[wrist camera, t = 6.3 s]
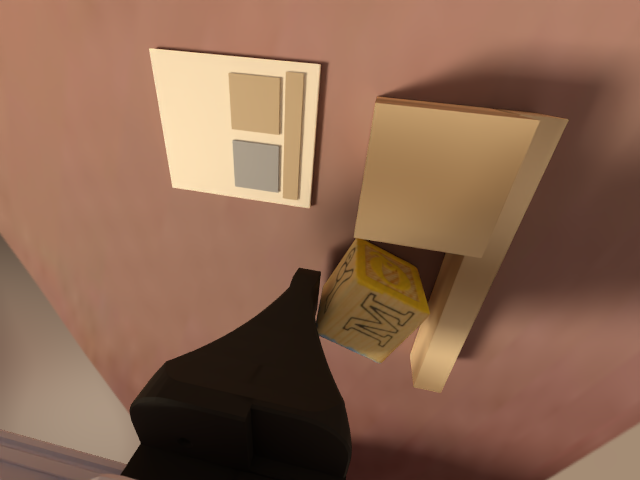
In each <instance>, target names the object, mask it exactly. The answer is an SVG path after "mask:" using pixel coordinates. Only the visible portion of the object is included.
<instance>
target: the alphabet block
mask: <svg viewBox="0 0 640 480" xmlns="http://www.w3.org/2000/svg"><path fill="white" fill-rule="evenodd" d="M429 315H430V311H429V307H428V304H427V300H426V297H425V293H424V290H423V287H422V283H421V280H420V276H419V273H418V269H417V268H416V267H415V266H414V265H412V264H410V263H408V262H406V261H404V260H402V259H400V258H398V257H396V256H395V255H393V254H391V253H389V252H387V251H385V250H383V249H381V248H379V247H378V246H375V245H373V244H371V243H369V242H367V241H365V240H364V239H360V238H356V239H355V240H354V242H353V243H352V245H351V246H350V248H349V249H348V251H347V252H346V254H345V255H344V257H343V258H342V260H341V261H340V263H339V264H338V266H337V267H336V269H335V270H334V271H333V273H332V274H331V276H330V277H329V279H328V280H327V282H326V283H325V284H324V286H323V288H322V294H321V299H320V304H319V309H318V315H317V320H316V326H317V331H318V335H320V336H321V337H323V338H326V339H328V340H330V341H332V342H334V343H336V344H338V345H341V346H343V347H345V348H347V349H349V350H351V351H353V352H356V353H358V354H360V355H362V356H364V357H366V358H369V359H371V360H373V361H374V362H377V363H382V362H383V361H384V360H385V359H386V358H387V357H388V356H389V355H390V354H391V353H392V352H393V351H394V350H395V349H396V348H397V347H398V346H399V345H400V344H401V343H402V342H403V341H404V340H405V339H406V338H407V337H408V336H409V335H410V334H412V333H413V332H414V331H415V330H416V329H417V328H418V327H419V326H420V325H421V324H422V323H423V322H424V321H425V320H426V319H427V318H428V317H429Z"/></svg>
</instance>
